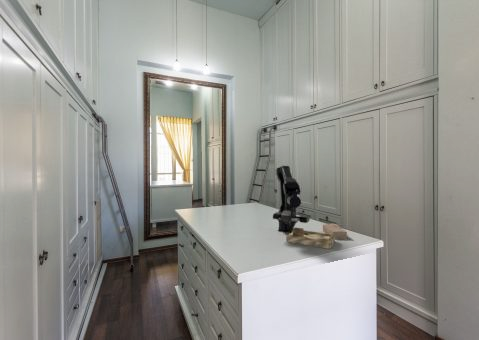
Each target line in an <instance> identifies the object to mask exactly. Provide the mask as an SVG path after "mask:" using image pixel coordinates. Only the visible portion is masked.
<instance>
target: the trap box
mask: <svg viewBox="0 0 479 340" xmlns="http://www.w3.org/2000/svg"><path fill="white" fill-rule="evenodd" d="M285 240H286V241H285V242H288V243H295V244H299V245H303V246H304V245H305V246H311V247H317V248H322V249H329V250H330V249H331V248H332V247H333V245H334V243H335V242H336V239H335V233H333V234H326V233H325V232H318V231H313V230H312V231H311V230H304V236H303V237H300V236H294V235H293V231H292V233H289V234H286V235H285Z"/></svg>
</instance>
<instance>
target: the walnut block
mask: <svg viewBox="0 0 479 340" xmlns="http://www.w3.org/2000/svg"><path fill="white" fill-rule="evenodd" d="M292 232H293V235H294V236H300V237H303V236H304V228H302V227H296V226H294V228H293V231H292Z"/></svg>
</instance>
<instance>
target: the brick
mask: <svg viewBox="0 0 479 340" xmlns="http://www.w3.org/2000/svg"><path fill="white" fill-rule="evenodd" d="M322 231H323V233H326V234H333V233H335V240H348V232H347V230H345V229H343V228H342V227H340V225H338V224H336V223H325V224H324V223H323V224H322Z"/></svg>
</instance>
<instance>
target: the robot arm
mask: <svg viewBox="0 0 479 340" xmlns="http://www.w3.org/2000/svg"><path fill="white" fill-rule="evenodd" d="M275 176H276V179H277V181H278V182H279V192H280V193H279V194H280V206H279V208H278V211H277V212H274V213H273V215H272V220H277V221H278V229H277V231H279V232H284V233H289V234H290V233H292V232H293V229H294V228H295V227H296V224H297V223H298V222H300V223H302V224H303V223H304V224H308V223H309V222H310V219H311V218H310V216H309V215H307V214H306V215H305V214H301V215H300V216H298V213H297V208H299V207H300V206H301V204H302V200H301V198H300V197H299V196H298V195H301V188H300V185H299V182H298V181H297V180H296V179H295V178H293V176H292V173H291V168H290V166H289V165H281V166H280V167H277V168H276V169H275Z"/></svg>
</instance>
